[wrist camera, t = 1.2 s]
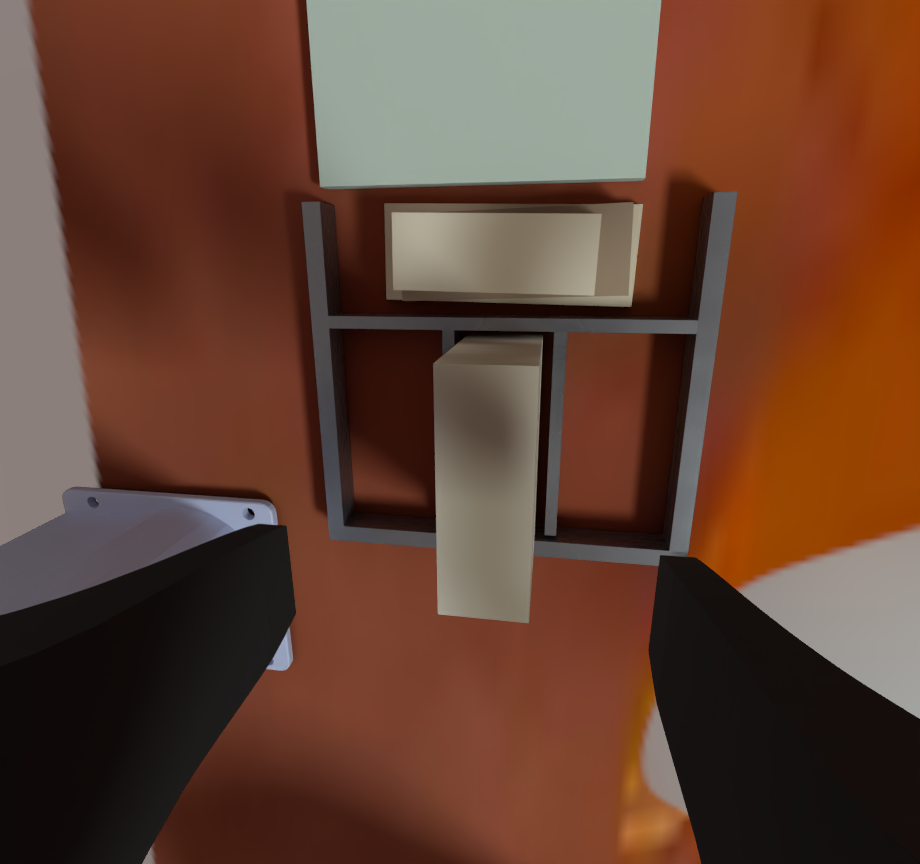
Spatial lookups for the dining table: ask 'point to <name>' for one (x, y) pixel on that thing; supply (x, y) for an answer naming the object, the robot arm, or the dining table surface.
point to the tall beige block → (487, 474)
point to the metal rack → (690, 405)
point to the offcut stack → (512, 253)
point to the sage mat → (481, 91)
